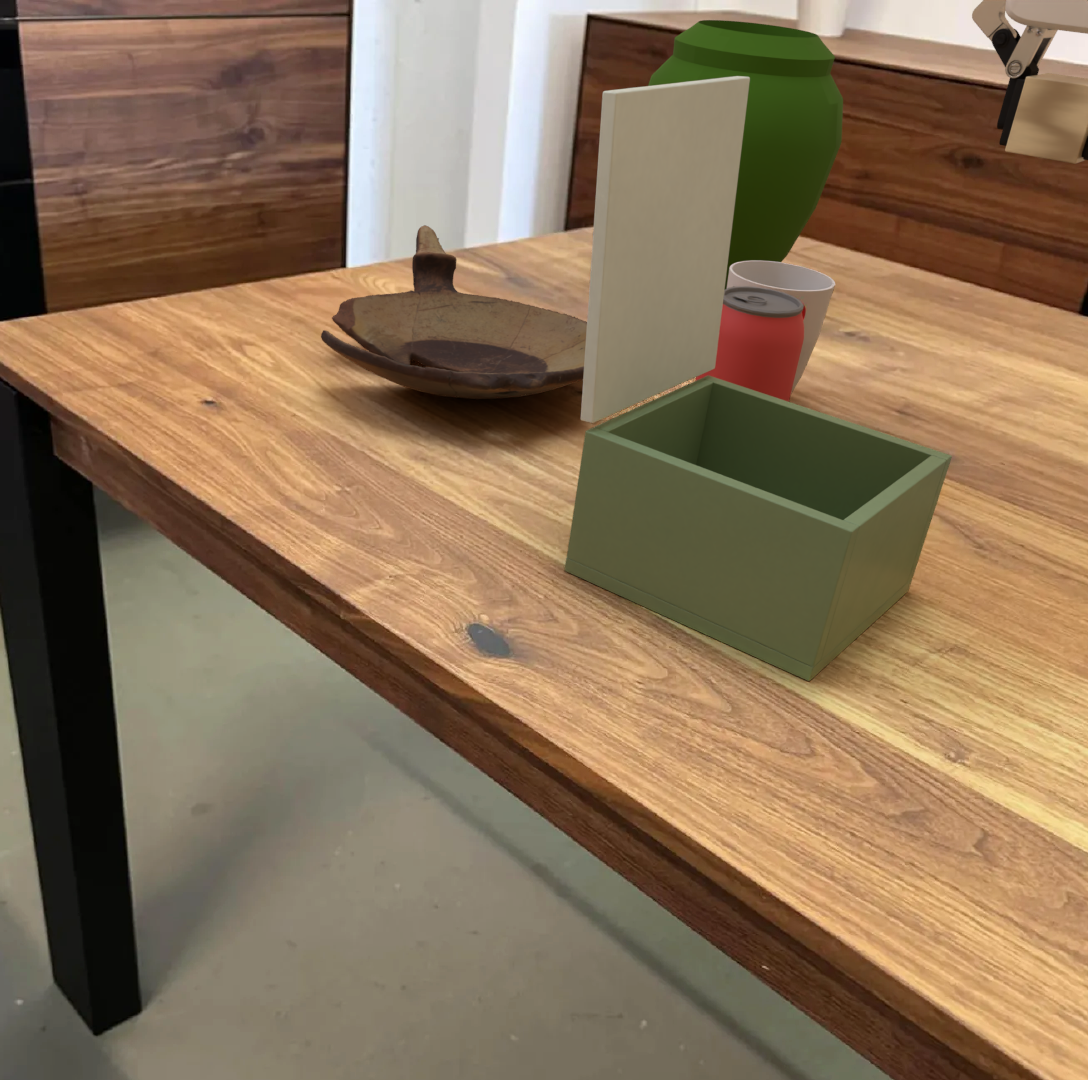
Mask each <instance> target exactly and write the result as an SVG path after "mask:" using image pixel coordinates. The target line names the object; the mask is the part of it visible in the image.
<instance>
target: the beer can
mask: <svg viewBox="0 0 1088 1080" xmlns="http://www.w3.org/2000/svg"><path fill="white" fill-rule="evenodd" d="M803 307H804V305H803V303H802V302H801V301H800V300H799V299H797V298H796V297H794V296H792V295H789V294H786V293H784V292H780V291H776V290H772V289H767V288H761V287H750V286H737V287H730V288H727V289H725V290H724V298H723V306H722V314H721V322H720V331H719V339H718V347H717V356H716V364H715V369H713V370H711V371H708V372H706V373H704V374H702V375H699V376H697V377H695V380H694V381H697V380H699V379H701V378H703V377H705V376H707V375H709V376H712V377H715V378H718V379H721V380H724V381H727V382H730V383H733V384H736V385H739V386H742V387H745V388H748V389H751V390H754V391H757V392H761V393H764V394H767V395H770V396H773V397H776V398H779V399H782V400H785V401H788V402H790V399H791V395H792V393H791V391H792V387H793V382H794V378H795V374H796V370H797V366H798V362H799V357H800V353H801V349H802V345H803V340H804V322H803V316H802V311H803Z"/></svg>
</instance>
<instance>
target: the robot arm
mask: <svg viewBox="0 0 1088 1080" xmlns="http://www.w3.org/2000/svg"><path fill="white" fill-rule="evenodd" d="M1006 15H1007V16H1008V17H1009V18H1010V19H1011V20H1013V22H1016V23H1018V24H1020V25H1023V26H1025V28H1024V30H1023V32H1022V34H1021V35H1020V32H1019V31H1018V29H1015V28H1014V27H1013V26H1012V25H1011V23H1010V21H1009V19H1007V17H1006ZM971 18H972V21H973V22H974V23H975V24H976V26H977V27H978V28H979V29H980V30H981V32H982V33H983V34H984V35H985V37H986V38H988V39H989V41H990V42H991V44H992V47H993V48H994V50H995V53H997V55H998V57H999V59H1000V61H1001V63H1002V64H1003V66H1004V68H1005V69H1004V72H1005V74H1006V76H1007V77H1008V78H1009V80H1008V83H1007V87H1006V91H1005V95H1004V97H1003V101H1002V105H1001V108H1000V112H999V114H998V119H997V123H996V129H997V130H1001V134H1000V138H999V141H998V143H999V144H998V145H999V146H1002V147H1003V146H1004V147H1006V145H1007V142H1008V138H1009V135H1010V131H1011V128H1012V124H1013V121H1014V117H1015V114H1016V110H1017V107H1018V103H1019V100H1020V97H1021V93H1022V90H1023V86H1024V83H1025V79H1026V77H1027V76H1033V75H1039V72H1040V68H1039V66H1040V64H1041V62H1042V60H1043V58H1044V56H1045V55H1046V54H1047V51H1048V49H1049V47H1050V46H1051V43H1052V42H1053V40H1054V38H1055V36H1056V34H1057V32H1058V31H1063V32H1069V33H1070V32H1071V33H1078V34H1087V35H1088V0H981V2H980V3H979V4H977V6H976V7H975V8H974V9H973V10H972V14H971ZM1082 157H1083V160H1084V161H1088V136H1087V139H1086V142H1085V145H1084V149H1083V152H1082Z"/></svg>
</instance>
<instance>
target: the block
mask: <svg viewBox="0 0 1088 1080" xmlns="http://www.w3.org/2000/svg"><path fill="white" fill-rule="evenodd" d="M1087 136H1088V78H1085V77H1078V76H1072V75H1065V74H1060V73H1059V74H1058V73H1050V72H1045V73H1040V74H1039V73H1038V75H1033V76H1027V77H1026V79H1025V83H1024V86H1023V90H1022V93H1021V97H1020V100H1019V103H1018V107H1017V110H1016V114H1015V117H1014V121H1013V124H1012V128H1011V131H1010V135H1009V138H1008V142H1007V145H1006V146H1005V149H1004V151H1005V152H1006V153H1013V154H1017V155H1023V156H1029V157H1034V158H1040V159H1044V160H1045V159H1047V160H1052V161H1057V162H1063V163H1068V164H1073V165H1074V164H1079V163H1081V162H1084V161H1085V160H1083V157H1082V152H1083V149H1084V145H1085V142H1086V139H1087Z"/></svg>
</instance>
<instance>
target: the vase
mask: <svg viewBox="0 0 1088 1080" xmlns="http://www.w3.org/2000/svg"><path fill="white" fill-rule="evenodd" d="M835 58H836V56H835V54H834V53H833V52H832V51H831V50H830V48H828V46H827V45H826V44H825V43H824V42H823V40H822V39H821V37H820V36H819V35H818V34H816V33H814V32H810V31H806V30H802V29H799V28H791V27H786V26H780V25H774V24H773V25H772V24H765V23H756V22H748V21H739V20H738V21H737V20H724V19H703V20H699V21H697V22H696V23H695V24H693V25H692V26H691V27H689V28H687V29H686V30H684V31H683V32H681V33H679V34H678V35H677V36H675V37H674V40H673V52H672V55H670V57H669V58H667V60H666V61H664V62H663V64H661V65H660V67H659V68H658V69H656V70H655V71H654V72H653V73H652V74H651V76H650V79H649V82H648V84H647V86H653V85H662V84H671V83H680V82H689V81H698V80H707V79H716V78H725V77H734V76H744V77H750V82H749V91H748V99H747V107H746V115H745V124H744V132H743V140H742V149H741V157H740V165H739V173H738V182H737V190H736V198H735V206H734V215H733V223H732V231H731V240H730V248H729V256H728V264H727V273H726V281H725V289H727V282H728V275H729V268H730V266H731V265H732V264H734V263H737V262H741V261H773V262H782V263H783V261H784V260H785V259H786V257H787V256H788V255H789V254H790V251H791V250H792V248H793V247H794V245H795V243H796V241H797V240H798V238H799V237H800V235H801V234H802V232H803V230H804V228H805V227H806V225H807V224H808V222H809V220H810V219H811V217H812V216H813V214H814V212H815V210H816V209H817V206H818V203H819V201H820V198H821V196H822V193H823V191H824V188H825V185H826V184H827V181H828V178H829V177H830V176H829V175H830V173H831V170H832V169H833V165H834V163H835V161H836V158H837V155H838V153H839V150H840V147H841V145H842V141H843V114H844V112H843V111H844V98H843V95H842V94H841V92H840V89H839V88H838V86H837V84H836V82H835V80H834V78H833V76H832V74H831V72H832V69H833V64H834V61H835ZM725 289H724V290H725Z"/></svg>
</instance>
